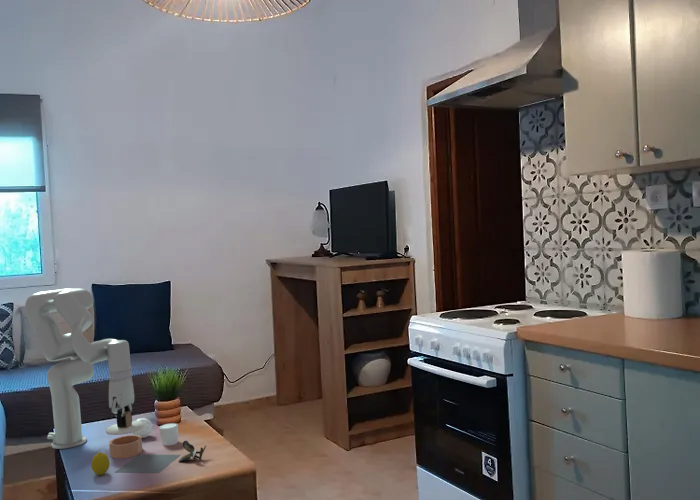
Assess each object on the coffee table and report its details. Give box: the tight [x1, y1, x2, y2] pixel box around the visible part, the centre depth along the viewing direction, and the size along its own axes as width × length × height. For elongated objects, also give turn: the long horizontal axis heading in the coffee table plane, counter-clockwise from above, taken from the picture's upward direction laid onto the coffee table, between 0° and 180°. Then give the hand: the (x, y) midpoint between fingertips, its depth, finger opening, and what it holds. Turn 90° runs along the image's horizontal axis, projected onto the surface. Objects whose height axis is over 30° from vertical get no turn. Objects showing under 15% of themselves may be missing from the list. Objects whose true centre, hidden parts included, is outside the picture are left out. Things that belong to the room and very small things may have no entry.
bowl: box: [108, 434, 143, 459], centre depth 231 cm, size 11×11×5 cm
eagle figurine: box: [178, 440, 207, 463], centre depth 220 cm, size 8×7×9 cm
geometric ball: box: [131, 417, 153, 439], centre depth 249 cm, size 8×8×8 cm
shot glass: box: [158, 422, 179, 446], centre depth 239 cm, size 7×7×7 cm
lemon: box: [91, 451, 110, 476], centre depth 211 cm, size 6×6×8 cm
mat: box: [114, 454, 181, 474], centre depth 219 cm, size 16×16×1 cm
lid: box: [105, 412, 144, 436], centre depth 231 cm, size 13×13×6 cm
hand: (124, 424), depth 231 cm, fingers closed on lid, 3 cm apart
